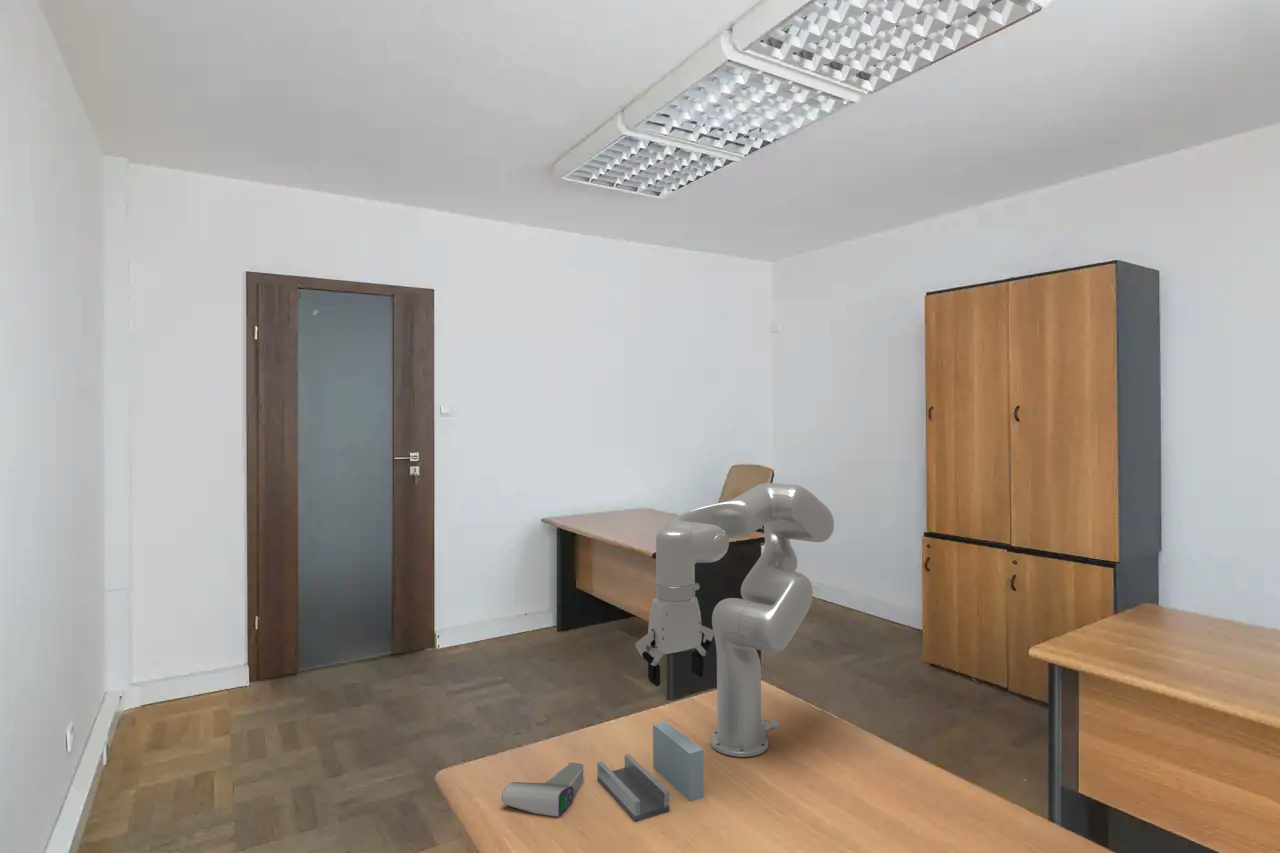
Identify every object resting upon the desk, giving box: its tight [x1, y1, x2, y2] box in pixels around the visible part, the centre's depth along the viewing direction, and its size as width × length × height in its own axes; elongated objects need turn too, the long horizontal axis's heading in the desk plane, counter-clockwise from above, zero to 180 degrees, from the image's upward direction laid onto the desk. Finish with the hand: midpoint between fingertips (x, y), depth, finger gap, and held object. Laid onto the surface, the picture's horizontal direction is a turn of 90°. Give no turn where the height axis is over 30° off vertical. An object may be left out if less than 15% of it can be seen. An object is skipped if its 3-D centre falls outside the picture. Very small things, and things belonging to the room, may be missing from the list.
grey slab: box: [652, 720, 704, 802], centre depth 134 cm, size 14×3×9 cm, turn 28°
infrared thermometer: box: [501, 762, 584, 818], centre depth 130 cm, size 5×12×15 cm
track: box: [596, 754, 670, 822], centre depth 130 cm, size 16×7×4 cm, turn 28°
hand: (676, 679), depth 134 cm, fingers open, 9 cm apart
